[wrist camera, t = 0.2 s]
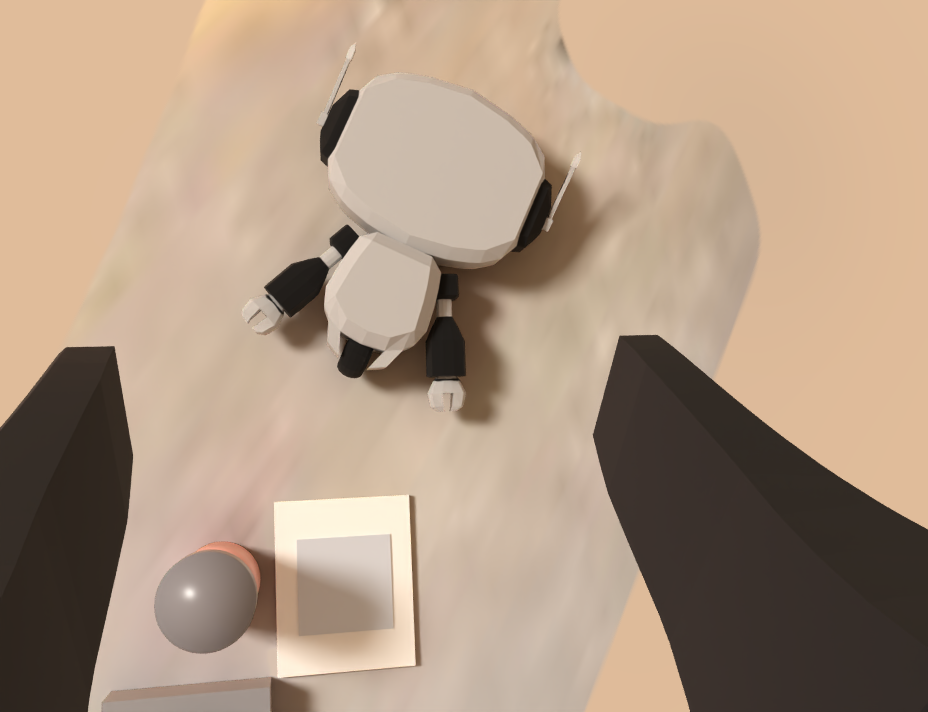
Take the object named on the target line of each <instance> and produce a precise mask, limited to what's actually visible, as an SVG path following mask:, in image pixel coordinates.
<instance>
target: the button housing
mask: <svg viewBox="0 0 928 712" xmlns="http://www.w3.org/2000/svg"><path fill="white" fill-rule="evenodd" d="M102 712H272V694H271V677H266V678H255V679H243V680H232V681H221V682H210V683H199V684H188V685H177V686H166V687H155V688H143V689H132V690H121V691H111V692H110V694H109V695H108V696H107V697H106V698H105V699H104V701H103V702H102Z"/></svg>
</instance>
